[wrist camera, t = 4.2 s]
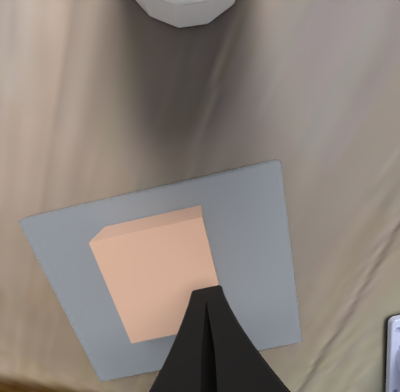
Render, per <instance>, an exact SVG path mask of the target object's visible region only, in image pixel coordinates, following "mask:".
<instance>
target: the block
mask: <svg viewBox="0 0 400 392" xmlns="http://www.w3.org/2000/svg"><path fill="white" fill-rule="evenodd" d="M89 245H90V247H91V249H92V252H93V254H94V256H95V259H96V261H97V263H98V266H99V268H100V271H101V273H102V275H103V278H104V280H105V282H106V285H107V287H108V289H109V292H110V294H111V297H112V299H113V301H114V304H115V306H116V308H117V311H118V313H119V315H120V318H121V320H122V323H123V325H124V327H125V330H126V332H127V334H128V337H129V339H130V341H131V343H136V342H141V341H146V340H151V339H155V338H160V337H165V336H170V335H175V334H177V333H178V331H179V328H180V326H181V323H182V320H183V318H184V315H185V312H186V309H187V306H188V303H189V300H190V296H191V293H192V291H193V290H197V289H202V288H207V287H212V286H216V285H220V282H219V278H218V274H217V270H216V266H215V261H214V257H213V253H212V249H211V245H210V241H209V236H208V232H207V228H206V224H205V220H204V216H203V211H202V207H201V205H198V206H194V207H189V208H185V209H181V210H176V211H172V212H167V213H163V214H158V215H154V216H150V217H145V218H141V219H136V220H132V221H127V222H123V223H119V224H114V225H110V226H105V227H104V228H103V229H102V230H101V231H100V232H99V233H98V234H97V235H96V236H95V237H94V238H93V239H92V240H91V241H90V242H89Z"/></svg>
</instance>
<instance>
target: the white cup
mask: <svg viewBox="0 0 400 392" xmlns="http://www.w3.org/2000/svg"><path fill="white" fill-rule="evenodd" d="M135 1H136V2H137V3H138V4H139V5H140V6H141V7H142V8H143V9H144V10H145V11H146V13H147V14H148V15H149V16H150V17H153V18H155V19H158V20H160V21H163V22H165V23H168V24H170V25H173V26H175V27H178V28H182V27H189V26H196V25H204V24H208V23H210V22H211V21H212V20H214V19H215V18H216V17H218V16H219V15H220V14H222V13H223V12H224V11H226V10H227V9H228V8H229V7H231V6H232V5H233V4H234V2H235V1H236V0H135Z"/></svg>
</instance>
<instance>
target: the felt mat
mask: <svg viewBox="0 0 400 392" xmlns="http://www.w3.org/2000/svg"><path fill="white" fill-rule="evenodd" d="M198 205H201V207H202V211H203V216H204V220H205V224H206V228H207V232H208V236H209V241H210V245H211V249H212V253H213V257H214V261H215V266H216V270H217V274H218V278H219V282H220V286H222V288H223V292H224V295H225V297H226V299H227V302H228V304H229V306H230V308H231V310H232V311H233V313H234V315H235V317H236V318H237V320H238V322H239V323H240V325H241V327H242V328H243V330H244V331H245V333H246V334H247V336H248V337H249V339H250V340H251V342H252V343H253V345H254V346H255V348H256V349H257V350H258V351H259V350H264V349H269V348H274V347H279V346H284V345H289V344H294V343H299V342H302V338H301V329H300V321H299V312H298V304H297V296H296V287H295V279H294V270H293V262H292V254H291V245H290V237H289V228H288V220H287V211H286V203H285V195H284V186H283V178H282V169H281V161H279V160H271V161H267V162H262V163H258V164H254V165H249V166H245V167H241V168H236V169H232V170H228V171H223V172H219V173H215V174H210V175H206V176H202V177H197V178H193V179H189V180H185V181H180V182H176V183H172V184H167V185H163V186H159V187H154V188H150V189H146V190H141V191H137V192H133V193H128V194H124V195H120V196H115V197H111V198H107V199H102V200H98V201H94V202H89V203H85V204H81V205H76V206H72V207H68V208H63V209H59V210H55V211H50V212H46V213H42V214H38V215H33V216H29V217H27V218H25V219H22V220H20V221H18V222H19V224H20V226H21V228H22V230H23V231H24V233H25V235H26V237H27V239H28V241H29V243H30V245H31V247H32V249H33V251H34V253H35V255H36V257H37V259H38V261H39V263H40V265H41V267H42V268H43V270H44V272H45V274H46V276H47V278H48V280H49V282H50V284H51V286H52V288H53V290H54V292H55V294H56V296H57V298H58V300H59V302H60V304H61V306H62V307H63V309H64V311H65V313H66V315H67V317H68V319H69V321H70V323H71V325H72V327H73V329H74V331H75V333H76V335H77V337H78V339H79V341H80V343H81V344H82V346H83V348H84V350H85V352H86V354H87V356H88V358H89V360H90V362H91V364H92V366H93V368H94V370H95V372H96V374H97V376H98V378H99V380H100V381H101V382H102V381H107V380H112V379H117V378H122V377H127V376H132V375H137V374H142V373H147V372H153V371H158V370H161V368H162V366H163V364H164V362H165V360H166V358H167V356H168V354H169V351H170V349H171V347H172V345H173V343H174V340H175V338H176V336H177V334H175V335H170V336H165V337H160V338H155V339H151V340H146V341H141V342H136V343H131V341H130V339H129V337H128V334H127V332H126V330H125V327H124V325H123V323H122V320H121V318H120V315H119V313H118V311H117V308H116V306H115V304H114V301H113V299H112V297H111V294H110V292H109V289H108V287H107V285H106V282H105V280H104V278H103V275H102V273H101V271H100V268H99V266H98V263H97V261H96V259H95V256H94V254H93V252H92V249H91V247H90V245H89V242H90V241H91V240H92V239H93V238H94V237H95V236H96V235H97V234H98V233H99V232H100V231H101V230H102V229H103V228H104V227H105V226H110V225H114V224H119V223H123V222H127V221H132V220H136V219H141V218H145V217H150V216H154V215H158V214H163V213H167V212H172V211H176V210H181V209H185V208H189V207H194V206H198Z"/></svg>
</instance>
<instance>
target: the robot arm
mask: <svg viewBox="0 0 400 392" xmlns="http://www.w3.org/2000/svg"><path fill="white" fill-rule="evenodd" d="M149 392H290V391H289V389H288V388H287V387H286V386H285V385H284V384H283V382H282V381H281V380H280V379H279V377H278V376H277V375H276V374H275V373H274V371H273V370H272V369H271V368H270V366H269V365H268V364H267V362H266V361H265V360H264V358H263V357H262V356H261V354H260V353H259V352H258V350H257V349H256V348H255V346H254V345H253V343H252V342H251V340H250V339H249V337H248V336H247V334H246V333H245V331H244V330H243V328H242V327H241V325H240V323H239V322H238V320H237V318H236V317H235V315H234V313H233V311H232V310H231V308H230V306H229V304H228V302H227V299H226V297H225V295H224V292H223V288H222V286H220V285H216V286H212V287H207V288H202V289H197V290H193V291H192V293H191V296H190V300H189V303H188V306H187V309H186V312H185V315H184V318H183V320H182V323H181V326H180V328H179V331H178V333H177V336H176V338H175V340H174V343H173V345H172V347H171V349H170V351H169V354H168V356H167V358H166V360H165V362H164V364H163V366H162V368H161V370H160V372H159V374H158V376H157V378H156V380H155V382H154V384H153V386H152V387H151V389H150V391H149ZM386 392H400V315H397V316H393V317H391V318H390V319H389V320H388V337H387V367H386Z"/></svg>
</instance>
